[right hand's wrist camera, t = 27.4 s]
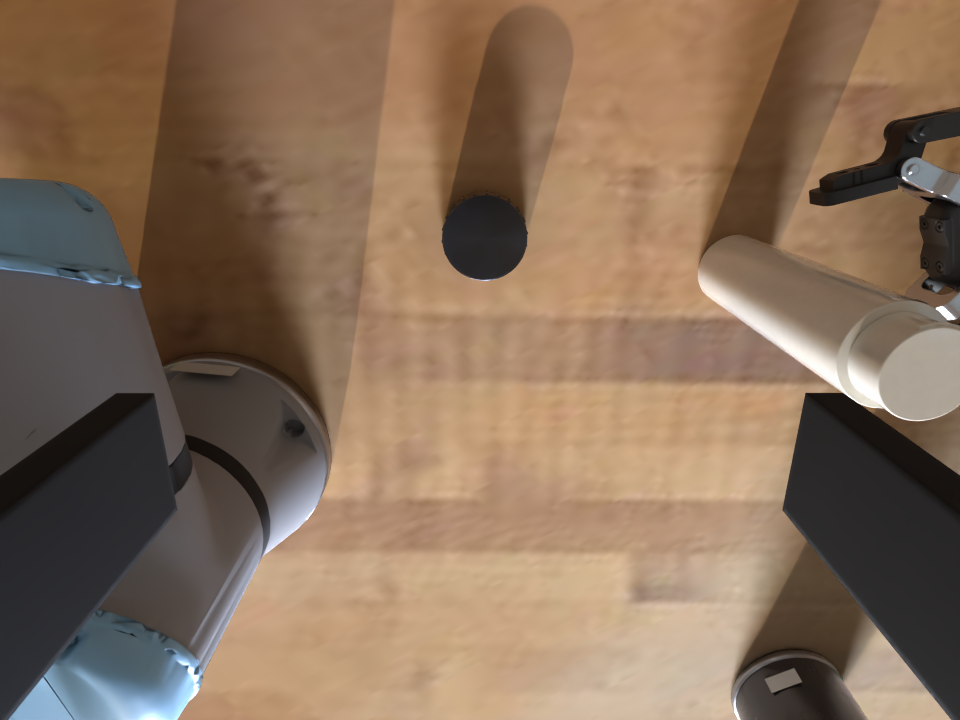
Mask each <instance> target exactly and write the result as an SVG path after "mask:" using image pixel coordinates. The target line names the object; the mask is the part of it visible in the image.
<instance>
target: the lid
mask: <svg viewBox="0 0 960 720" xmlns="http://www.w3.org/2000/svg"><path fill="white" fill-rule="evenodd" d="M519 211H520V210H519V208H518V207H516V206H515V205H514V204H513V203H512V202H511V201H510V199H509V198H508V199H507V198H505V197H503V196H501V195H500V194H499V193H497V194H496V193H492V192H487V191H486V192H477V193H476V192H474V193H473V194H470V195H468V196H466V197H464V196H463V198H462V199H461V200H460V201H458V202H457V203H456V204H454V205H453V207H452V209H451V211H450V213H449V214H447V216H446V222H445V224H444V225H443V228H442V230H443V234H442V243H443V248H444V251H445V254H446V256H447V258H448V260H449V262H450V263H451V265H452V266H453V267H454V268H455V269H456V270H457V271H459V272H460V273H461V274H463V275H465V276H467V277H469V278H472V279H475V280H485V281H487V280H494V279H498V278H500V277H503V276H505V275H506V274H508V273H509V272H511V271H512V270H513V269H514V268H515V267H516V266H517V265H518V264H519V262H520V261H521V259H522V258H523V255H524V253H525V250H526V247H527V234H528V232H527V230H526V225H525V223H524V222H525V220H524V218H523V217H522V216H521V214H520V212H519Z"/></svg>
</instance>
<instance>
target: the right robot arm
mask: <svg viewBox="0 0 960 720" xmlns="http://www.w3.org/2000/svg"><path fill="white" fill-rule="evenodd" d="M139 288H142V287H141V282H140V280H139V278H138V277H137V276H135V275H133V272H132V270H131V267H130V265H129V262H128V260H127V257H126V255H125V252H124V250H123V247H122V245H121V242H120V240H119V237H118V235H117V232H116V229H115V227H114V224H113V221H112V219H111V216H110V215H109V213H108V211H107V210H106V208H105V207H104V205H103V204H102V203H101V202H100V201H99V200H98V199H97V198H95V197H94V196H93V195H91V194H90V193H88V192H87V191H85V190H83V189H81V188H79V187H77V186H74V185H71V184H67V183H63V182H57V181H49V180H33V179H11V178H0V720H177V719H178V717H179V715H180V714H181V712H182V711H183V709H184V708H185V706H186V704H187V703H188V701H189V700H191V699H192V698H193V697H194V696H195V695H196V694H197V692H198V690H199V688H200V686H201V683H202V679H203V676H202V675H203V673H204V671H205V669H206V667H207V665H208V663H209V661H210V659H211V657H212V655H213V653H214V651H215V649H216V647H217V645H218V643H219V641H220V639H221V637H222V635H223V633H224V631H225V629H226V627H227V625H228V623H229V621H230V619H231V617H232V615H233V613H234V611H235V609H236V607H237V605H238V604H239V602H240V600H241V598H242V596H243V594H244V592H245V590H246V588H247V586H248V584H249V582H250V580H251V578H252V576H253V574H254V572H255V570H256V568H257V566H258V564H259V562H260V560H261V558H262V556H264V555H265V554H266V553H267V552H269V551H270V550H271V549H272V548H274V547H275V546H276V545H278V544H279V543H280V542H281V541H283V540H284V539H285V538H286V537H288V536H289V535H290V534H292V533H293V532H294V531H295V530H297V529H298V528H299V527H300V526H301V525H302V524H303V523H304V522H305V520H306V519H307V518H308V517H309V516H310V515H311V513H312V512H313V511H314V509H315V508H316V506H317V504H318V502H319V500H320V498H321V496H322V494H323V491H324V489H325V487H326V484H327V481H328V478H329V474H330V470H331V445H330V440H329V435H328V432H327V429H326V426H325V424H324V421H323V419H322V417H321V415H320V414H319V412H318V410H317V408H316V407H315V405H314V404H313V403H312V401H311V400H310V399H309V397H308V396H307V395H306V394H305V393H304V392H303V391H302V390H301V389H300V388H299V387H298V386H297V385H296V384H295V383H294V382H292V381H291V380H290V379H289V378H287V377H286V376H284V375H283V374H281V373H280V372H278V371H277V370H275V369H273V368H271V367H269V366H268V365H265V364H263V363H261V362H258V361H256V360H253V359H250V358H247V357H243V356H239V355H233V354H227V353H200V354H193V355H188V356H184V357H181V358H178V359H175V360H173V361H170V362H168V363H166V364H164V365H163V366H162V363H161V360H160V357H159V354H158V351H157V348H156V344H155V341H154V338H153V335H152V331H151V328H150V325H149V321H148V318H147V315H146V311H145V308H144V305H143V302H142V298H141V295H140V292H139ZM783 511H784V512H785V514H786V515H787V516H788V517H789V519H790V520H791V521H792V522H793V524H794V525H795V526H796V527H797V529H798V530H799V531H800V532H801V534H802V535H803V536H804V537H805V539H806V540H807V541H808V542H809V544H810V545H811V546H812V547H813V548H814V550H815V551H816V552H817V553H818V555H819V556H820V557H821V558H822V560H823V561H824V562H825V563H826V565H827V566H828V567H829V568H830V570H831V571H832V572H833V573H834V575H835V576H836V577H837V578H838V580H839V581H840V582H841V583H842V584H843V586H844V587H845V588H846V589H847V591H848V592H849V593H850V594H851V596H852V597H853V598H854V599H855V601H856V602H857V603H858V604H859V606H860V607H861V608H862V609H863V611H864V612H865V613H866V614H867V616H868V617H869V618H870V619H871V620H872V622H873V623H874V624H875V625H876V627H877V628H878V629H879V630H880V632H881V633H882V634H883V635H884V637H885V638H886V639H887V640H888V642H889V643H890V644H891V645H892V647H893V648H894V649H895V650H896V652H897V653H898V654H899V655H900V656H901V658H902V659H903V660H904V661H905V663H906V664H907V665H908V666H909V668H910V669H911V670H912V671H913V673H914V674H915V675H916V676H917V678H918V679H919V680H920V681H921V683H922V684H923V685H924V686H925V688H926V689H927V690H928V691H929V692H930V694H931V695H932V696H933V697H934V699H935V700H936V701H937V702H938V704H939V705H940V706H941V707H942V709H943V710H944V711H945V712H946V714H947V715H948V716H949V717H950V719H951V720H960V475H958V474H957V473H955V472H954V471H953V470H951V469H950V468H948V467H947V466H946V465H944V464H943V463H941V462H940V461H939V460H937V459H936V458H934V457H933V456H932V455H930V454H929V453H927V452H926V451H925V450H923V449H922V448H920V447H919V446H917V445H916V444H915V443H913V442H912V441H910V440H909V439H908V438H906V437H905V436H903V435H902V434H901V433H899V432H898V431H896V430H895V429H894V428H892V427H891V426H889V425H888V424H887V423H885V422H884V421H882V420H881V419H879V418H878V417H877V416H875V415H874V414H872V413H871V412H870V411H868V410H867V409H865V408H864V407H863V406H861V405H860V404H858V403H857V402H856V401H854V400H853V399H851V398H850V397H849V396H847V395H846V394H844V393H806V394H805V399H804V404H803V409H802V414H801V419H800V424H799V429H798V434H797V439H796V444H795V449H794V454H793V459H792V465H791V470H790V475H789V480H788V485H787V490H786V495H785V500H784V505H783Z"/></svg>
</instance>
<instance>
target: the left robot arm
mask: <svg viewBox="0 0 960 720" xmlns="http://www.w3.org/2000/svg"><path fill="white" fill-rule="evenodd" d="M956 136H960V107H957V108H952V109H947V110H943V111H938V112H933V113H928V114H923V115H918V116H913V117H908V118H903V119H898V120H894V121H891V122H890V123H889V124H888V125H887V126H886V127H885V130H884V138H885V140H886V141H887V143H886V146H885V149H884V152H883V154H882V155H881V157H880V158H879V159H877V160H876V161H874V162H872V163H868V164H864V165H860V166H856V167H852V168H849V169H845V170H841V171H837V172H833V173H829V174H827V175H826V176H824V177H823V178H821V179H820V180H819V181H820V188H816V189H812V190H810V191H809V197H810V204H814V205H820V206H831V205H836V204H840V203H844V202H848V201H852V200H856V199H860V198H864V197H868V196H872V195H875V194H879V193H883V192H887V191H891V190H895V189H898V187H899V188H901V189H902V191H903V192H905V193H907V194H909V195H911V196H913V197H915V198H917V199H920V200H922V201H924V202H926V203H928V204H929V206H928V207H927V209H926V212H925V215H922V216H919V218H920V232H921V235H922V238H923V241H924V243H923V247H922V251H921V255H920V261H921V269H925V270H926V272H925V273H924V274H923V275H922V276H921V277H920V278H919V279H918V280H917V281H916V282H915V283H914V284H913V285H912V286H911V287H910V288H909V289H908V290H907V291H906V296H907V297H909V298H912V299H915V300H917V301H920V302H922V303H925V304H928V305H930V306H932V307H934V308H935V309H937V310H938V311H939V312H940V313H941V314H942V315H943V316H944V317H945V319H946V320H947V321H950V320H955V319H958V318H960V174H956V173H953V172H949V171H946V170H943V169H941V168H939V167H937V166H935V165H933V164H931V163H929V162H927V161H925V160H923V159H921V157H922V154H923V151H924V148H925V145H926V142H931V141H936V140H941V139H946V138H951V137H956ZM945 285H946V286H948V287H951V288H953V289H954V290H953V291H951V292H950V293H948V294H943V295H942V294H938V292H939V291H940V290H941V289H942V288H943V287H944V286H945ZM957 325H959V326H960V324H957ZM731 702H732V706H733V709H734V711H735V713H736V716H737V718H738V719H739V720H868V719H867V717H866V716H865V714H864V713H863V711H862V710H861V708H860V706H859V705H858V703H857V702H856V700H855V699H854V697H853V696H852V694H851V693H850V691H849V690H848V688H847V687H846V685H845V684H844V682H843V680H842V677H841V676H840V674H839V673H838V671H837V670H836V668H835V667H834V665H833V664H832V663H831V662H830V661H829V660H827V659H826V658H824V657H823V656H821V655H818V654H816V653H813V652H809V651H803V650H786V651H780V652H776V653H772V654H769V655H767V656H764V657H762V658H760V659H758V660H756V661H755V662H753V663H752V664H750V665H749V666H748V667H747V668H745V669H744V670H743V671H742V673H741V674H740V675H739V676H738V678H737V679H736V681H735V683H734V685H733V688H732V692H731Z"/></svg>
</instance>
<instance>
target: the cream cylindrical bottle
mask: <svg viewBox="0 0 960 720" xmlns="http://www.w3.org/2000/svg"><path fill="white" fill-rule="evenodd" d="M698 280H699V284H700V287H701V289H702V291H703V292H704V293H705V294H706V295H707V296H708V297H709V298H710V299H712V300H713V301H714V302H716V303H717V304H719V305H720V306H721V307H723V308H724V309H726V310H727V311H728V312H730V313H731V314H733V315H734V316H735V317H737V318H738V319H740V320H741V321H742V322H744V323H745V324H747V325H748V326H749V327H751V328H752V329H754V330H755V331H756V332H758V333H759V334H761V335H762V336H763V337H765V338H766V339H768V340H769V341H770V342H772V343H773V344H775V345H776V346H777V347H779V348H780V349H782V350H783V351H785V352H786V353H787V354H789V355H790V356H792V357H793V358H794V359H796V360H797V361H799V362H800V363H801V364H803V365H804V366H806V367H807V368H808V369H810V370H811V371H813V372H814V373H815V374H817V375H818V376H820V377H821V378H822V379H824V380H825V381H827V382H828V383H829V384H831V385H832V386H834V387H835V388H836V389H838V390H839V391H841V392H842V393H844V394H846V395H847V396H849V397H850V398H851V399H853V400H854V401H856V402H857V403H859V404H861V405H864V406H867V407H872V408H884V409H885V410H887V411H888V412H890V413H891V414H892V415H894V416H896V417H898V418H901V419H905V420H910V421H924V420H930V419H934V418H937V417H940V416H942V415H944V414H946V413H948V412H950V411H952V410H953V409H955V408H956V407H957V406H959V405H960V326H959V325H955V324H952V323H949V322H947V320H946V319H945V317H944V316H943V315H942V314H941V313H940V312H939V311H938V310H937V309H935V308H934V307H932V306H930V305H928V304H925V303H922V302H920V301H917V300H915V299H912V298H909V297H907V296H904V295H901V294H899V293H896V292H894V291H891V290H888V289H886V288H883V287H880V286H878V285H875V284H872V283H870V282H867V281H865V280H862V279H859V278H857V277H854V276H851V275H849V274H846V273H843V272H841V271H838V270H836V269H833V268H830V267H828V266H825V265H822V264H820V263H817V262H814V261H812V260H809V259H807V258H804V257H801V256H799V255H796V254H793V253H791V252H788V251H786V250H783V249H780V248H778V247H775V246H772V245H770V244H767V243H764V242H762V241H759V240H757V239H754V238H751V237H749V236H745V235H732V236H727V237H724V238H722V239H720V240H718V241H717V242H715V243H714V244H713V245H711V246H710V247H709V248H708V250H707V251H706V252H705V254H704V255H703V257H702V259H701V261H700V264H699V268H698Z"/></svg>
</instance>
